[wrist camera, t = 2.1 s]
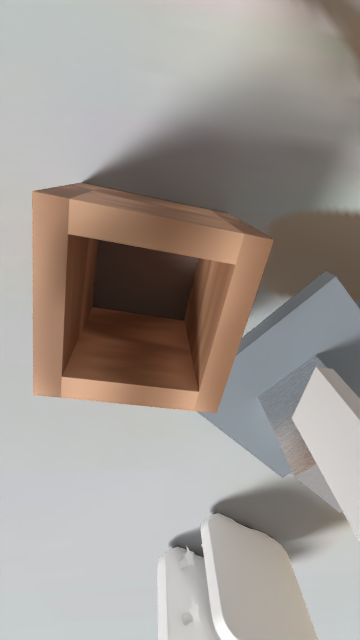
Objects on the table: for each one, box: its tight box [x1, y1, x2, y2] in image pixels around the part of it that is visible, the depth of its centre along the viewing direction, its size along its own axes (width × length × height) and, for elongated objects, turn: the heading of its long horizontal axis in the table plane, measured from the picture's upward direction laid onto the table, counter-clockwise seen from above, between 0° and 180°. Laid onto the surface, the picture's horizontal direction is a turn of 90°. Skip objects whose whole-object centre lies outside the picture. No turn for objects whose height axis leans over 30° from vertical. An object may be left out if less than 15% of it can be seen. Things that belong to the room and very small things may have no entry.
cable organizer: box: [158, 513, 318, 640], centre depth 35 cm, size 15×11×12 cm
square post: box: [258, 355, 343, 513], centre depth 24 cm, size 6×6×8 cm
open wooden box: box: [32, 183, 274, 413], centre depth 19 cm, size 10×10×9 cm
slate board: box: [197, 271, 360, 478], centre depth 28 cm, size 16×16×2 cm
